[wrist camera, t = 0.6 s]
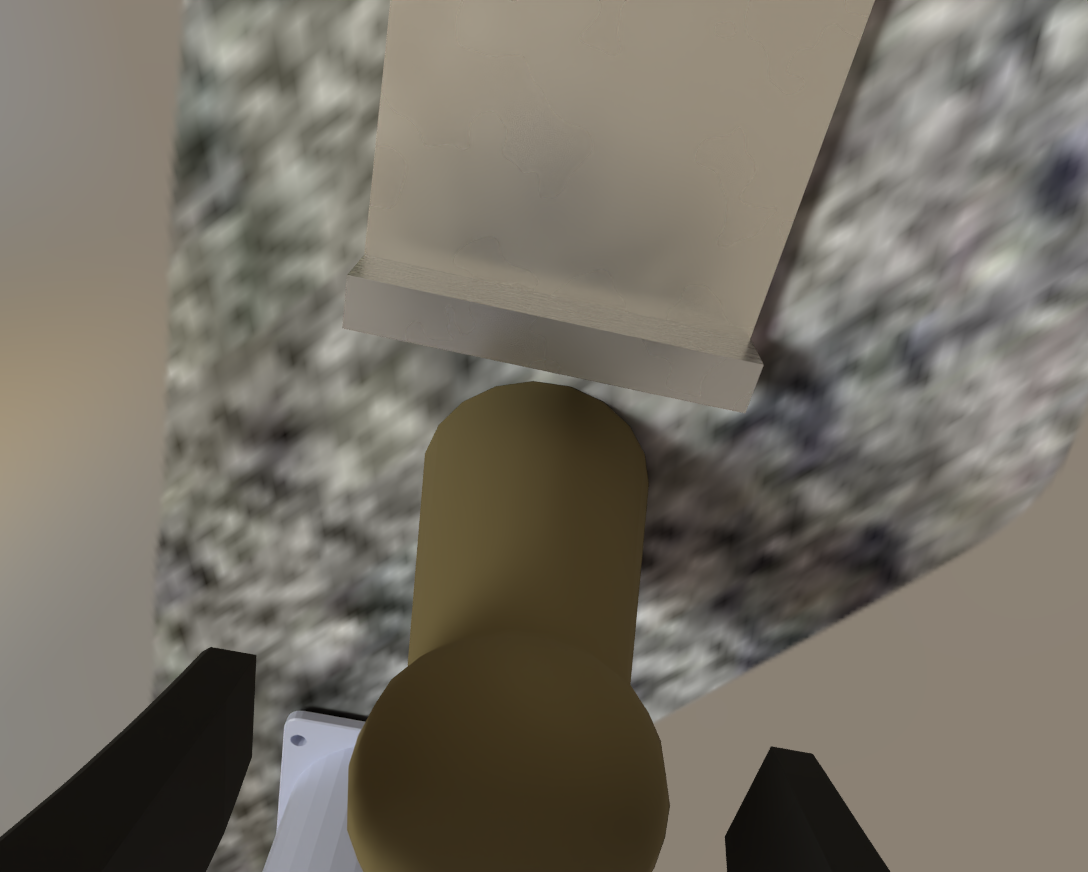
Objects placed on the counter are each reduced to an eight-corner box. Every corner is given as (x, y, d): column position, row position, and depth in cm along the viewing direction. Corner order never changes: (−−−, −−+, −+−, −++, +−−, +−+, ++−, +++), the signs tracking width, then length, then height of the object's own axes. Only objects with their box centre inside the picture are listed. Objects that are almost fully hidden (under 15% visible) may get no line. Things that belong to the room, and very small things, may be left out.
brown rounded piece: (411, 381, 20) (252, 747, 10) (654, 381, 19) (731, 757, 10) (432, 572, 23) (324, 997, 13) (643, 574, 22) (693, 1009, 13)
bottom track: (729, 375, 19) (745, 413, 17) (364, 297, 19) (342, 328, 17) (1002, -375, 13) (1071, -435, 11) (452, -536, 12) (430, -628, 10)
